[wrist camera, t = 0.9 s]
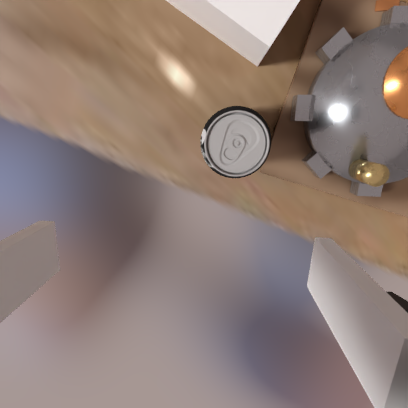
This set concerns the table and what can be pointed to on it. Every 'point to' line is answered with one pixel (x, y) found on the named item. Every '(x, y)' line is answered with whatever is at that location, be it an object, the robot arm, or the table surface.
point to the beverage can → (235, 142)
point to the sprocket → (360, 106)
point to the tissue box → (241, 22)
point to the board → (304, 75)
